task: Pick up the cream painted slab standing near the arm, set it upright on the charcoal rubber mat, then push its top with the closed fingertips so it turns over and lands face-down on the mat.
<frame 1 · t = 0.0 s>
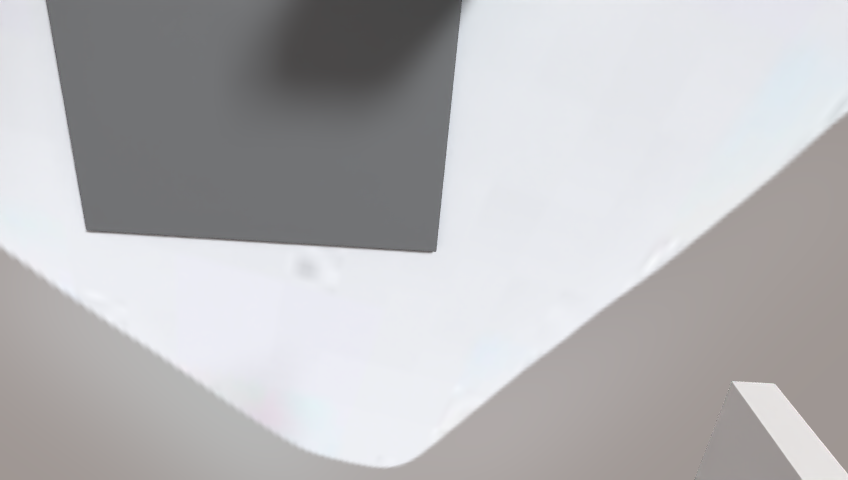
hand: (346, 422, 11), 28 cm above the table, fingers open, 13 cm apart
mat: (261, 116, 37), on the table
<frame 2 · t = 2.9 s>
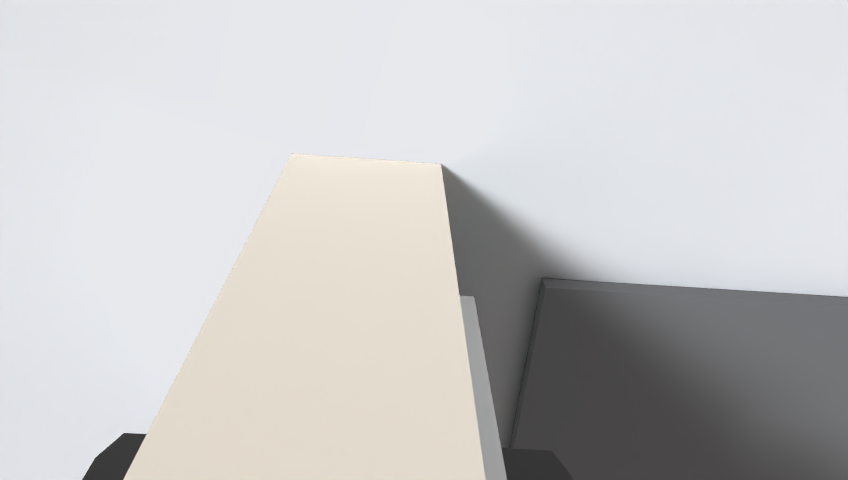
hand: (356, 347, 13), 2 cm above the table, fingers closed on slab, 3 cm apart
slab: (360, 305, 14), on the table, touching gripper
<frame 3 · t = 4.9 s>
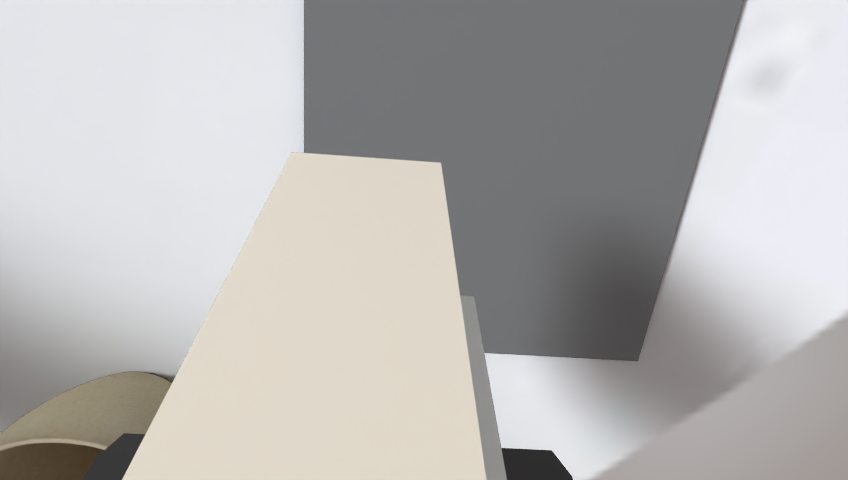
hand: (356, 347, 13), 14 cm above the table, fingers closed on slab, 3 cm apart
slab: (360, 304, 14), point 13 cm above the table, touching gripper
mat: (505, 124, 25), on the table
flower pot: (146, 408, 32), on the table
when the fingers open (3 cm above the table, at t = 7.1 s): slab stays where it is, resting on mat.
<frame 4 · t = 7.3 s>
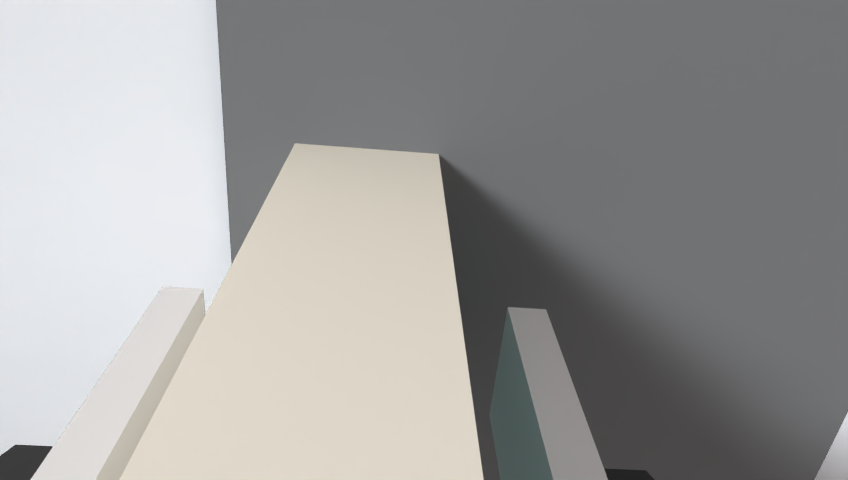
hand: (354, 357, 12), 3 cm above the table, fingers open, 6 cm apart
slab: (360, 291, 15), resting on mat
mat: (576, 260, 15), on the table
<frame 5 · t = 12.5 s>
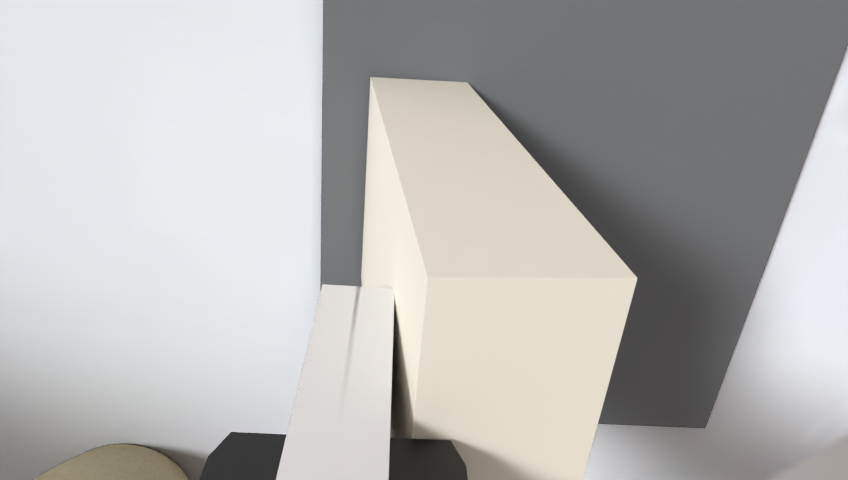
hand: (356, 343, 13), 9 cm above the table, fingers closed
slab: (410, 186, 21), point 1 cm above the table, tilted 6°, touching gripper, mat
mat: (562, 162, 21), on the table
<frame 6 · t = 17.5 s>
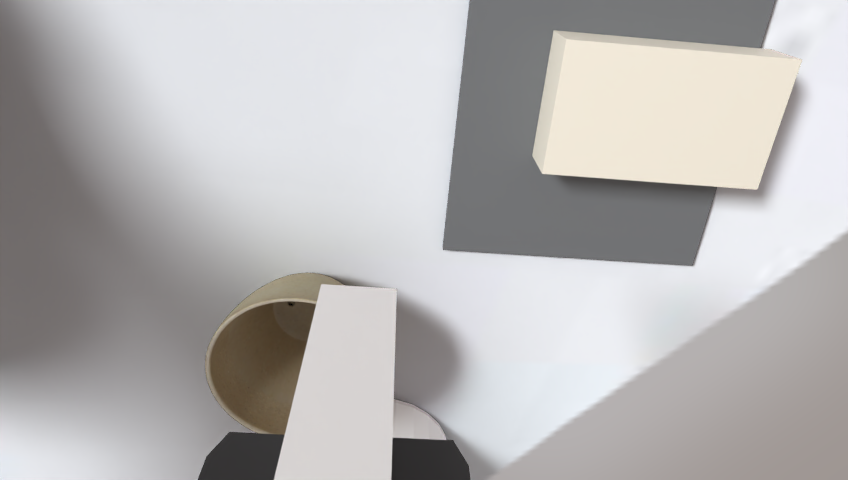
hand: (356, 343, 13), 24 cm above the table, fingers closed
slab: (547, 102, 33), point 2 cm above the table, tilted 90°, touching mat
mug: (366, 453, 47), on the table
mat: (604, 81, 35), on the table
flower pot: (314, 304, 41), on the table
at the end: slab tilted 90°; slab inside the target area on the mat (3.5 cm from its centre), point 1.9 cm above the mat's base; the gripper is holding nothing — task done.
